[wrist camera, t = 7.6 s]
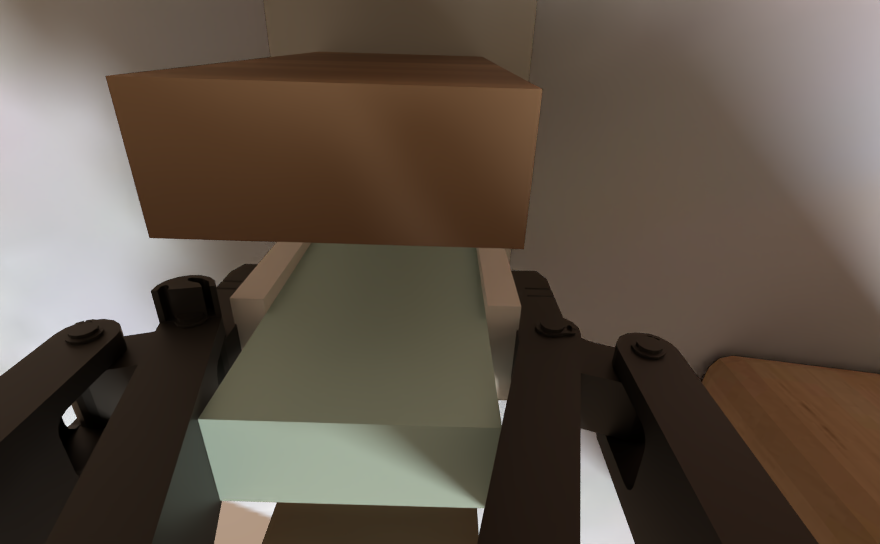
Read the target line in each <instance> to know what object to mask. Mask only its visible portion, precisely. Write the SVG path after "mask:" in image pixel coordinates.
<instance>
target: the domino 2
mask: <svg viewBox="0 0 880 544" xmlns="http://www.w3.org/2000/svg"><path fill="white" fill-rule="evenodd" d="M478 537H479V533H478V518H477V508H457V507H422V506H388V505H353V504H318V503H284V502H277V504H276V506H275V509H274V512H273V515H272V517H271V520H270V523H269V526H268V529H267V531H266V534H265V537H264V539H263V542H262V544H477V542H478Z"/></svg>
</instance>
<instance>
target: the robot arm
mask: <svg viewBox="0 0 880 544" xmlns="http://www.w3.org/2000/svg"><path fill="white" fill-rule="evenodd" d="M310 244H311V243H302V242H276V243H275V245H274V246H273V247H272V248H271V249H270V251H269V252H268V253H267V254H266V255H265V257H264V258H263V259H262V260H261V261H260V263H259V264H244V265H242V266H241V267H239V268H237V269H235V270H233V271H231V272H230V273H229V274H228V275H227V277H226V278H225V279H224V280H223V282H221V283H220V284H219V285H218V286H217V287H216V284H215V280H213V279H212V278H210V277H207V276H202V275H189V276H182V277H177V278H173V279H170V280H167V281H165V282H163V283H161V284H159V285H157V286H156V287H155V288H154V289H153V290H151V293H152V297H153V300H154V304H155V308H156V311H157V315H158V318H159V322H160V323H159V325H158V327H157V329H156V331H155V332H150V333H143V334H136V335H129V336H124V335H123V332H122V329H121V326H120V324H119V323H117V322H116V321H114V320H107V319H99V320H94V319H92V320H86V322H84V321H82V322H78V323H76V324H75V325H72V326H70V327H67V328H65V329H63V330H61V331H60V332H58V333H56V334H55V335H53V336H52V337H51V338H49V339H48V340H47V341H46V342H44V343H43V344H42V345H40V346H39V347H38V348H36V349H35V350H34V351H33V352H31V353H30V354H29V355H27V356H26V357H25V358H23V359H22V360H21V361H20V362H18V363H17V364H16V365H14V366H13V367H12V368H10V369H9V370H8V371H7V372H5V373H4V374H3V375H1V376H0V544H214V540H215V535H216V529H217V524H218V519H219V513H220V508H221V503H222V501H220V498H219V494H218V491H217V487H216V483H215V480H214V476H213V473H212V469H211V465H210V462H209V458H208V455H207V451H206V447H205V444H204V440H203V436H202V433H201V429H200V426H199V422H198V418H199V417H200V415H201V413H202V412H203V410H204V409H205V407H206V406H207V404H208V403H209V401H210V399H211V398H212V396H213V395H214V393H215V392H216V390H217V389H218V387H219V385H220V384H221V382H222V381H223V379H224V378H225V376H226V375H227V373H228V371H229V370H230V368H231V367H232V365H233V364H234V362H235V361H236V359H237V358H238V356H239V354H240V353H241V351H242V350H243V348H244V347H245V345H246V344H247V342H248V340H249V339H250V337H251V336H252V334H253V333H254V331H255V330H256V328H257V326H258V325H259V323H260V322H261V320H262V319H263V317H264V316H265V314H266V313H267V311H268V309H269V308H270V306H271V305H272V303H273V302H274V300H275V299H276V297H277V295H278V294H279V292H280V291H281V289H282V288H283V286H284V285H285V283H286V281H287V280H288V278H289V277H290V275H291V274H292V272H293V271H294V269H295V267H296V266H297V264H298V263H299V261H300V260H301V258H302V257H303V255H304V253H305V252H306V250H307V249H308V247H309V246H310ZM476 251H477V258H478V265H479V272H480V279H481V286H482V293H483V300H484V306H485V313H486V320H487V327H488V334H489V341H490V348H491V355H492V362H493V369H494V376H495V383H496V390H497V397H498V400H507V403H506V408H505V413H504V418H503V423H502V427H501V432H500V437H499V442H498V446H497V451H496V456H495V461H494V465H493V470H492V475H491V480H490V485H489V489H488V494H487V499H486V504H485V508H484V513H483V518H482V523H481V528H480V532H479V537H478V542H477V544H580V428H581V429H585V430H589V431H592V432H596V435H597V440H598V442H599V445H600V448H601V451H602V453H603V456H604V459H605V462H606V464H607V467H608V470H609V473H610V476H611V478H612V481H613V484H614V487H615V489H616V492H617V495H618V498H619V500H620V503H621V506H622V509H623V512H624V514H625V517H626V520H627V523H628V525H629V528H630V531H631V534H632V537H633V539H634V542H635V544H819V543H818V542H817V541H816V539H815V538H814V536H813V535H812V534H811V532H810V531H809V530H808V528H807V527H806V525H805V524H804V523H803V521H802V520H801V519H800V517H799V516H798V514H797V513H796V512H795V510H794V509H793V508H792V506H791V505H790V503H789V502H788V501H787V499H786V498H785V496H784V495H783V494H782V492H781V491H780V490H779V488H778V487H777V485H776V484H775V483H774V481H773V480H772V479H771V477H770V476H769V474H768V473H767V472H766V470H765V469H764V468H763V466H762V465H761V463H760V462H759V461H758V459H757V458H756V457H755V455H754V454H753V452H752V451H751V450H750V448H749V447H748V446H747V444H746V443H745V441H744V440H743V439H742V437H741V436H740V435H739V433H738V432H737V430H736V429H735V428H734V426H733V425H732V424H731V422H730V421H729V419H728V418H727V417H726V415H725V414H724V413H723V411H722V410H721V408H720V407H719V406H718V404H717V403H716V402H715V400H714V399H713V397H712V396H711V395H710V393H709V392H708V391H707V389H706V388H705V386H704V385H703V384H702V382H701V381H700V380H699V378H698V377H697V375H696V374H695V373H694V371H693V370H692V368H691V367H690V366H689V364H688V363H687V362H686V360H685V359H684V357H683V356H682V355H681V353H680V352H679V351H678V350H677V349H676V348H675V347H674V346H673V345H672V344H671V343H669V342H667V341H665V340H664V339H662V338H660V337H657V336H653V335H651V334H644V333H627V334H625V335H623V336H620V337H619V339H618V341H617V343H616V347H610V346H606V345H601V344H597V343H593V342H590V341H587V340H585V339H582V338H581V334H580V331H579V328H578V327H577V326H576V325H575V324H574V323H572V322H571V321H569V320H567V319H565V318H563V317H562V314H561V312H560V310H559V307H558V305H557V303H556V300H555V298H554V295H553V293H552V291H551V290H550V286H549V284H548V281H547V279H546V278H544V277H543V276H542V275H541V274H539V273H538V272H537V271H511V269H510V265H509V262H508V258H507V255H506V251H505V249H503V248H476ZM71 405H72V407H73V410H74V412H75V414H76V417H77V419H76V420H75V421H74V422H73V423H72V424H71V425H69V426H68V427H67V426H66V425H65V424H64V422H63V419H62V416H63V414H64V413H65V411H66V410H67V409H68V408H69V407H70V406H71Z"/></svg>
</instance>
